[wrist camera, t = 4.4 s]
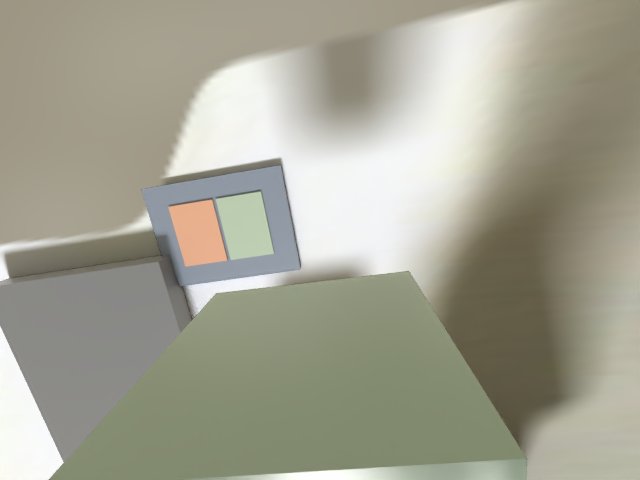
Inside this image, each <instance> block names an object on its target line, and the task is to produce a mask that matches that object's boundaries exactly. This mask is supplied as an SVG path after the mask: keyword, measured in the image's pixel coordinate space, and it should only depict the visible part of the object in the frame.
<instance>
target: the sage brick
mask: <svg viewBox="0 0 640 480" xmlns="http://www.w3.org/2000/svg"><path fill="white" fill-rule="evenodd" d="M526 475H527V458H526V456H525V455H524V453H523V452H522V450H521V448H520V447H519V445H518V444H517V442H516V440H515V439H514V437H513V436H512V434H511V433H510V431H509V429H508V428H507V426H506V425H505V423H504V421H503V420H502V418H501V417H500V415H499V413H498V412H497V410H496V409H495V407H494V406H493V404H492V402H491V401H490V399H489V398H488V396H487V394H486V393H485V391H484V390H483V388H482V386H481V385H480V383H479V382H478V380H477V378H476V377H475V375H474V374H473V372H472V371H471V369H470V367H469V366H468V364H467V363H466V361H465V359H464V358H463V356H462V355H461V353H460V351H459V350H458V348H457V347H456V345H455V343H454V342H453V340H452V339H451V337H450V336H449V334H448V332H447V331H446V329H445V328H444V326H443V324H442V323H441V321H440V320H439V318H438V316H437V315H436V313H435V312H434V310H433V308H432V307H431V305H430V304H429V302H428V301H427V299H426V297H425V296H424V294H423V293H422V291H421V289H420V288H419V286H418V285H417V283H416V281H415V280H414V278H413V277H412V275H411V273H410V272H409V271H405V272H396V273H388V274H379V275H370V276H362V277H353V278H345V279H336V280H327V281H319V282H310V283H301V284H293V285H284V286H276V287H267V288H258V289H250V290H241V291H232V292H224V293H216V294H215V295H214V296H213V297H212V299H211V300H210V301H209V302H208V303H207V304H206V305H205V306H204V307H203V309H202V310H201V311H200V312H199V313H198V314H197V315H196V316H195V317H194V319H193V320H192V321H191V322H190V323H189V324H188V325H187V326H186V327H185V329H184V330H183V331H182V332H181V333H180V334H179V335H178V336H177V337H176V339H175V340H174V341H173V342H172V343H171V344H170V345H169V346H168V348H167V349H166V350H165V351H164V352H163V353H162V354H161V355H160V356H159V358H158V359H157V360H156V361H155V362H154V363H153V364H152V365H151V366H150V368H149V369H148V370H147V371H146V372H145V373H144V374H143V375H142V376H141V378H140V379H139V380H138V381H137V382H136V383H135V384H134V385H133V386H132V388H131V389H130V390H129V391H128V392H127V393H126V394H125V395H124V396H123V398H122V399H121V400H120V401H119V402H118V403H117V404H116V405H115V406H114V408H113V409H112V410H111V411H110V412H109V413H108V414H107V415H106V417H105V418H104V419H103V420H102V421H101V422H100V423H99V424H98V425H97V427H96V428H95V429H94V430H93V431H92V432H91V433H90V434H89V435H88V437H87V438H86V439H85V440H84V441H83V442H82V443H81V444H80V445H79V447H78V448H77V449H76V450H75V451H74V452H73V453H72V454H71V455H70V457H69V458H68V459H67V460H66V461H65V462H64V463H63V464H62V465H61V467H60V468H59V469H58V470H57V471H56V472H55V473H54V474H53V476H52V477H51V478H50V479H49V480H526Z"/></svg>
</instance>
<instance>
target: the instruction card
mask: <svg viewBox="0 0 640 480" xmlns="http://www.w3.org/2000/svg"><path fill="white" fill-rule="evenodd" d="M142 193H143V197H144V200H145V203H146V206H147V210H148V213H149V216H150V220H151V223H152V226H153V229H154V233H155V236H156V239H157V243H158V246H159V249H160V252H161V256H168V255H170V258H171V261H172V265H173V268H174V271H175V275H176V278H177V281H178V285H179V286H186V285H193V284H200V283H207V282H215V281H222V280H229V279H236V278H243V277H250V276H258V275H265V274H272V273H279V272H286V271H293V270H300V269H301V266H300V261H299V256H298V251H297V246H296V240H295V235H294V230H293V225H292V219H291V214H290V209H289V204H288V199H287V193H286V188H285V183H284V178H283V173H282V167H281V165H278V166H272V167H267V168H261V169H255V170H249V171H244V172H238V173H232V174H226V175H220V176H215V177H209V178H203V179H197V180H192V181H186V182H180V183H174V184H168V185H163V186H157V187H151V188H145V189H142Z"/></svg>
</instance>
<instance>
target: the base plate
mask: <svg viewBox="0 0 640 480" xmlns="http://www.w3.org/2000/svg"><path fill="white" fill-rule="evenodd" d="M191 321H192V319H191V315H190V312H189V309H188V305H187V302H186V298H185V295H184V292H183V288H182V286H179V285H178V281H177V278H176V275H175V271H174V268H173V265H172V261H171V258H170V255H168V256H154V257H148V258H141V259H134V260H128V261H121V262H115V263H108V264H101V265H95V266H88V267H81V268H75V269H68V270H61V271H55V272H48V273H41V274H35V275H28V276H22V277H15V278H9V279H6V280H3V281H0V326H1V328H2V330H3V333H4V335H5V337H6V339H7V341H8V343H9V345H10V348H11V350H12V352H13V354H14V356H15V358H16V361H17V363H18V365H19V367H20V369H21V371H22V373H23V376H24V378H25V380H26V382H27V384H28V386H29V388H30V391H31V393H32V395H33V397H34V399H35V401H36V404H37V406H38V408H39V410H40V412H41V414H42V416H43V419H44V421H45V423H46V425H47V427H48V429H49V431H50V434H51V436H52V438H53V440H54V442H55V444H56V447H57V449H58V451H59V453H60V455H61V457H62V459H63V462H65V461H66V460H67V459H68V458H69V457H70V455H71V454H72V453H73V452H74V451H75V450H76V449H77V448H78V447H79V445H80V444H81V443H82V442H83V441H84V440H85V439H86V438H87V437H88V435H89V434H90V433H91V432H92V431H93V430H94V429H95V428H96V427H97V425H98V424H99V423H100V422H101V421H102V420H103V419H104V418H105V417H106V415H107V414H108V413H109V412H110V411H111V410H112V409H113V408H114V406H115V405H116V404H117V403H118V402H119V401H120V400H121V399H122V398H123V396H124V395H125V394H126V393H127V392H128V391H129V390H130V389H131V388H132V386H133V385H134V384H135V383H136V382H137V381H138V380H139V379H140V378H141V376H142V375H143V374H144V373H145V372H146V371H147V370H148V369H149V368H150V366H151V365H152V364H153V363H154V362H155V361H156V360H157V359H158V358H159V356H160V355H161V354H162V353H163V352H164V351H165V350H166V349H167V348H168V346H169V345H170V344H171V343H172V342H173V341H174V340H175V339H176V337H177V336H178V335H179V334H180V333H181V332H182V331H183V330H184V329H185V327H186V326H187V325H188V324H189V323H190V322H191Z"/></svg>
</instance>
